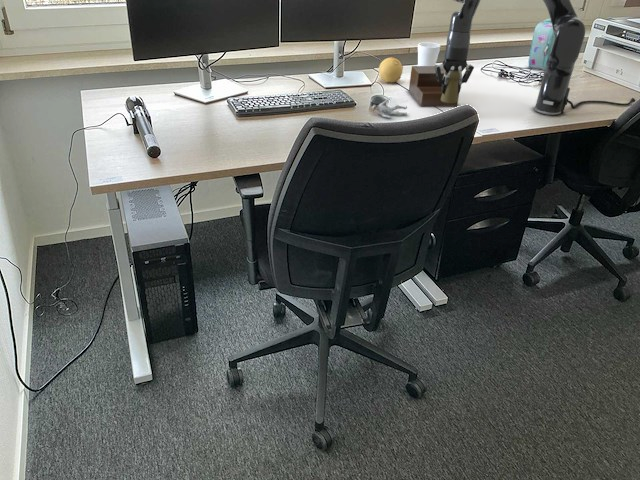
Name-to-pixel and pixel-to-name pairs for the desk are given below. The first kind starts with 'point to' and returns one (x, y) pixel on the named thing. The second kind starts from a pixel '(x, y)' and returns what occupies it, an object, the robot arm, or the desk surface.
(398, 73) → the stress ball
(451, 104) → the step shelf
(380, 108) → the soldier figure
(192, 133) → the desk surface
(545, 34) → the lunch box
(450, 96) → the olive pawn
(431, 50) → the foam cup
